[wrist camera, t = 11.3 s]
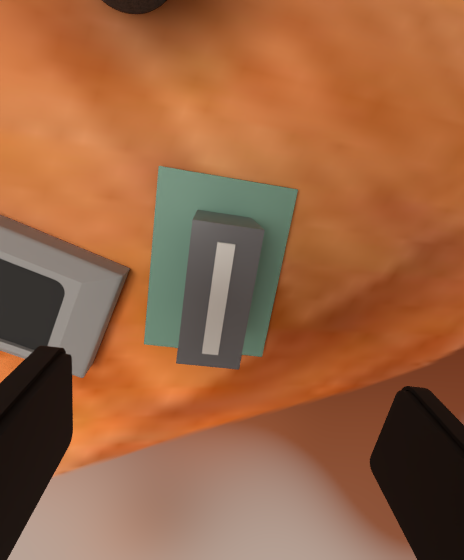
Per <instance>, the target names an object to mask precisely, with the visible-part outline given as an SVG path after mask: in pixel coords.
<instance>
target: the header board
mask: <svg viewBox="0 0 464 560" xmlns="http://www.w3.org/2000/svg"><path fill="white" fill-rule="evenodd" d="M297 192H298V190H297V189H292V188H286V187H280V186H274V185H268V184H262V183H256V182H250V181H245V180H239V179H233V178H227V177H221V176H215V175H209V174H203V173H197V172H192V171H186V170H180V169H174V168H168V167H162V166H159V169H158V181H157V193H156V206H155V218H154V230H153V242H152V254H151V266H150V278H149V290H148V302H147V314H146V326H145V338H144V344H147V345H156V346H166V347H175V348H178V343H179V334H180V325H181V317H182V308H183V299H184V290H185V281H186V272H187V264H188V255H189V246H190V237H191V228H192V220H193V218H194V216H195V214H196V212H197V210H203V211H210V212H217V213H223V214H230V215H237V216H243V217H250V218H252V219H253V220H254V221H255V222H257V223H258V224H259V225H260V226H261V227H262V228H263V229H264V230H265V232H264V237H263V242H262V248H261V253H260V259H259V264H258V269H257V275H256V280H255V286H254V291H253V296H252V302H251V307H250V313H249V318H248V323H247V329H246V334H245V340H244V345H243V351H242V355H249V356H259V357H262V354H263V350H264V345H265V340H266V336H267V331H268V326H269V322H270V317H271V313H272V308H273V303H274V299H275V294H276V289H277V285H278V280H279V275H280V271H281V266H282V262H283V257H284V252H285V248H286V243H287V238H288V234H289V229H290V224H291V220H292V215H293V211H294V206H295V201H296V197H297Z"/></svg>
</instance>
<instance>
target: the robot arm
mask: <svg viewBox="0 0 464 560" xmlns="http://www.w3.org/2000/svg"><path fill="white" fill-rule="evenodd" d="M72 434H73V411H72V356H71V355H70V354H66V351H65V349H64V348H60V347H51V346H39V347H37V348H36V349H35V350H34V351H33V352H32V353H31V354H30V355H29V356H28V357H27V358H26V359H25V360H24V361H23V362H22V363H21V364H20V365H19V366H18V367H17V368H16V369H15V370H14V371H12V372H11V373H10V374H9V375H8V376H7V377H6V378H5V379H4V380H3V381H2V382H1V383H0V560H7V559H8V557H9V555H10V553H11V551H12V550H13V548H14V546H15V544H16V542H17V540H18V538H19V537H20V535H21V533H22V531H23V529H24V527H25V526H26V524H27V522H28V520H29V518H30V516H31V514H32V513H33V511H34V509H35V507H36V505H37V503H38V502H39V500H40V498H41V496H42V494H43V493H44V491H45V489H46V487H47V485H48V483H49V482H50V479H51V478H52V476H53V474H54V472H55V471H56V469H57V467H58V465H59V463H60V461H61V459H62V458H63V456H64V454H65V452H66V450H67V448H68V446H69V444H70V442H71V438H72ZM370 467H371V470H372V472H373V475H374V476H375V478H376V480H377V482H378V484H379V486H380V488H381V490H382V492H383V494H384V496H385V498H386V499H387V502H388V504H389V506H390V508H391V509H392V511H393V513H394V515H395V517H396V519H397V521H398V523H399V525H400V527H401V529H402V531H403V533H404V535H405V537H406V538H407V540H408V542H409V544H410V546H411V548H412V550H413V552H414V554H415V556H416V558H417V560H464V425H463V424H462V423H461V422H460V421H459V420H458V419H457V418H456V417H455V416H454V415H453V414H452V413H451V412H450V411H449V410H448V409H447V408H446V407H445V406H444V405H443V404H442V403H441V402H440V401H439V399H437V398H436V396H435V395H434V394H433V393H432V392H431V391H430V390H428V389H426V388H420V387H410V386H406V387H404V388H403V389H402V390H401V391H399V392H397V394H396V396H395V398H394V401H393V403H392V406H391V408H390V411H389V413H388V416H387V418H386V420H385V423H384V425H383V428H382V430H381V433H380V435H379V438H378V440H377V442H376V445H375V447H374V450H373V452H372V455H371V458H370Z"/></svg>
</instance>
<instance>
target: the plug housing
mask: <svg viewBox="0 0 464 560" xmlns="http://www.w3.org/2000/svg"><path fill="white" fill-rule="evenodd" d="M264 232H265V230H264V229H263V228H262V227H261V226H260V225H259V224H258V223H257V222H255V221H254V220H253V219H252V218H250V217H243V216H237V215H230V214H223V213H217V212H210V211H203V210H197V212H196V214H195V216H194V218H193V220H192V228H191V237H190V246H189V255H188V264H187V272H186V281H185V290H184V299H183V308H182V317H181V325H180V334H179V343H178V352H177V361H176V363H178V364H188V365H198V366H209V367H219V368H229V369H239V367H240V361H241V356H242V351H243V345H244V340H245V334H246V329H247V323H248V318H249V313H250V307H251V302H252V296H253V291H254V286H255V280H256V275H257V269H258V264H259V259H260V253H261V248H262V242H263V237H264Z"/></svg>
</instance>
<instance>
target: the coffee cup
mask: <svg viewBox="0 0 464 560" xmlns="http://www.w3.org/2000/svg"><path fill="white" fill-rule="evenodd" d="M102 1H103V2H105V3H106V4H107V5H109V6H111V7H112V8H114V9H116V10H119V11H122V12H125V13H131V14H141V13H146V12H149V11H152V10H154V9H156V8H158V7H159V6H161V5H162V4H163V3H164V2H165V1H166V0H102Z"/></svg>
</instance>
